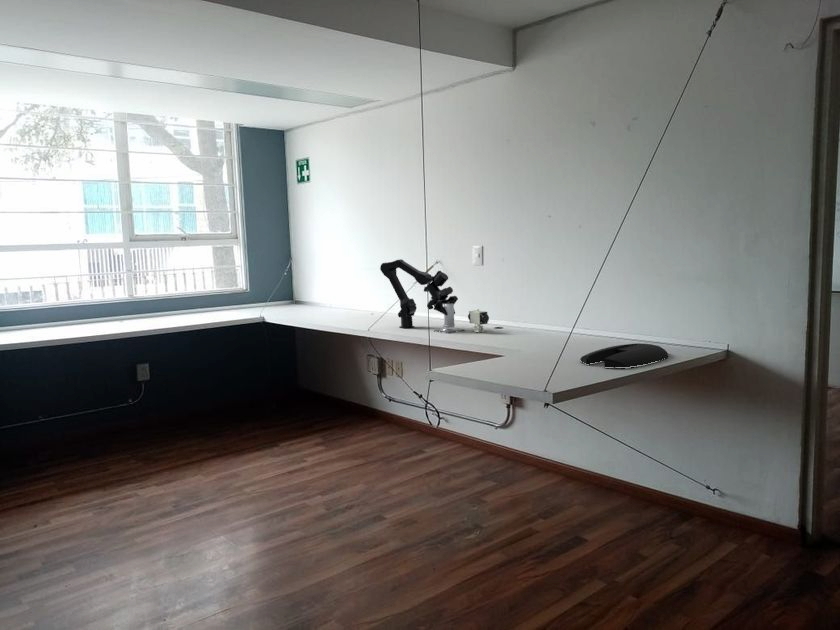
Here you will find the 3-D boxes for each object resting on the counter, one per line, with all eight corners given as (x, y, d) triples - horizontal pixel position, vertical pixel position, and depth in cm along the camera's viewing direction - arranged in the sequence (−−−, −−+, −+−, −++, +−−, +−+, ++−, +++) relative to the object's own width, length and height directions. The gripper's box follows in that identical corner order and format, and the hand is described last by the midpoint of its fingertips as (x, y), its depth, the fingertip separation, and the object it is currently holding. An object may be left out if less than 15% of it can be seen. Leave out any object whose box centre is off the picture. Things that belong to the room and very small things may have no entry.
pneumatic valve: (482, 334, 346) (482, 310, 344) (468, 331, 355) (467, 308, 354) (490, 332, 349) (490, 309, 347) (476, 330, 358) (475, 307, 357)
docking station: (683, 356, 274) (683, 344, 273) (623, 372, 249) (623, 359, 248) (630, 349, 293) (630, 337, 293) (569, 363, 268) (569, 351, 267)
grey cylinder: (441, 326, 359) (441, 304, 358) (448, 325, 364) (447, 303, 362) (450, 327, 356) (449, 304, 354) (457, 326, 360) (456, 303, 359)
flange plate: (433, 331, 361) (433, 329, 361) (450, 328, 369) (450, 326, 369) (447, 333, 352) (447, 331, 352) (465, 330, 359) (465, 328, 359)
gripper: (430, 283, 353) (445, 306, 347) (455, 280, 366) (470, 302, 359) (420, 297, 360) (435, 320, 354) (445, 294, 373) (460, 316, 366)
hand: (450, 314), depth 358 cm, fingers closed on grey cylinder, 5 cm apart
